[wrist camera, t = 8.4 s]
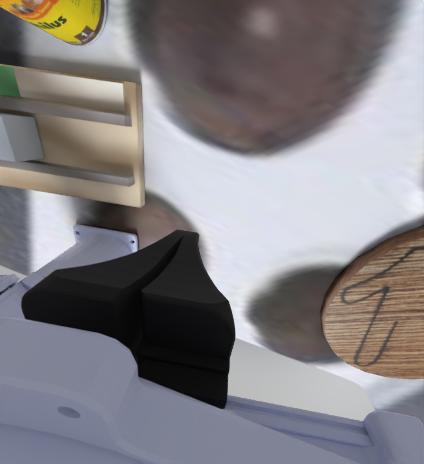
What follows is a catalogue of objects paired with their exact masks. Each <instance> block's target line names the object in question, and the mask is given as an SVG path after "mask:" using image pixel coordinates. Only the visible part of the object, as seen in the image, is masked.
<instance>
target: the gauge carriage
mask: <svg viewBox="0 0 424 464" xmlns="http://www.w3.org/2000/svg"><path fill="white" fill-rule="evenodd" d="M43 158H44V155H43V151H42V147H41V143H40V139H39V135H38V131H37V127H36V123H35V119H34V117H28V116H22V115H15V114H8V113H1V112H0V160H6V161H13V162H20V161H27V160H35V159H43Z"/></svg>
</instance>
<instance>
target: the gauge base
mask: <svg viewBox="0 0 424 464" xmlns="http://www.w3.org/2000/svg"><path fill="white" fill-rule="evenodd" d="M0 112H1V113H8V114H15V115H22V116H28V117H34V119H35V123H36V127H37V131H38V135H39V139H40V143H41V147H42V151H43V155H44V158H43V159H35V160H27V161H20V162H13V161H6V160H0V185H4V186H10V187H17V188H23V189H29V190H35V191H41V192H48V193H54V194H60V195H66V196H72V197H78V198H85V199H91V200H97V201H103V202H109V203H116V204H122V205H128V206H134V207H140V208H141V207H142V206H143V205H144V204H145V183H144V150H143V117H142V86H141V85H139V84H137V83H134V82H127V81H120V80H113V79H105V78H98V77H91V76H84V75H76V74H69V73H62V72H55V71H47V70H40V69H33V68H26V67H18V66H11V65H4V64H0Z"/></svg>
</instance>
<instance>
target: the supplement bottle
mask: <svg viewBox="0 0 424 464" xmlns="http://www.w3.org/2000/svg"><path fill="white" fill-rule="evenodd" d="M0 7H2V8H3V9H5V10H7V11H9V12H11V13H13V14H14V15H16V16H18V17H20V18H22V19H24V20H26V21H27V22H29V23H31V24H33V25H35V26H37V27H38V28H40V29H42V30H44V31H46V32H48V33H50V34H51V35H53V36H55V37H57V38H59V39H61V40H63V41H65V42H67V43H69V44H71V45H75V46H86V45H89V44H91V43H93V42H94V41H96V40H97V39H98V38H99V36H100V35H101V33H102V31H103V29H104V25H105V21H106V13H107V9H106V0H0Z"/></svg>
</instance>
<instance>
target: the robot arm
mask: <svg viewBox="0 0 424 464" xmlns="http://www.w3.org/2000/svg"><path fill="white" fill-rule="evenodd" d="M73 230H74V234H75V239H76V243H77V244H75V245H74V246H72V247H71V248H69V249H68V250H67V251H65V252H64V253H62V254H61V255H59V256H58V257H56V258H55V259H54V260H52V261H51V262H49V263H48V264H46V265H45V266H43V267H42V268H41V269H39V270H38V271H36V272H33V273H32V274H30V275H29V276H27V277H26V278H24V279H23V280H22V281H20V282H19V283H17V282H16V281H17V280H19V278H18V277H17V276H16V275H15V274H13V275H10V276H9V275H0V464H424V425H423V424H422V422H421V421H420V419H418V418H417V417H414V416H409V415H404V414H398V413H393V412H388V411H374V412H371V413H370V414H368V415H367V416H366V418H365V419H364V421H358V420H353V419H348V418H343V417H338V416H333V415H328V414H323V413H317V412H312V411H307V410H302V409H297V408H292V407H286V406H281V405H276V404H271V403H266V402H260V401H255V400H251V399H246V398H240V397H235V396H230V395H227V392H228V374H229V365H230V356H231V352H232V349H233V345H234V341H235V325H234V319H233V315H232V311H231V307H230V304H229V301H228V300H227V299H226V298H225V297H224V295H223V294H222V293H221V292H220V291H219V290H218V289H217V287H216V286H215V285H214V283H213V282H212V280H211V278H210V277H209V275H208V273H207V271H206V269H205V267H204V265H203V262H202V259H201V256H200V252H199V247H198V241H199V234H198V233H195V232H189V231H183V230H176V231H174V232H172V233H171V234H169V235H168V236H166V237H164V238H162V239H161V240H159V241H157V242H155V243H153V244H151V245H149V246H147V247H145V248H143V249H141V250H139V251H138V239H137V236H136V235H135V234H132V233H126V232H120V231H114V230H108V229H102V228H96V227H90V226H84V225H75V226H74V227H73ZM132 240H133V241H134V242H132ZM9 288H10V289H9Z"/></svg>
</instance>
